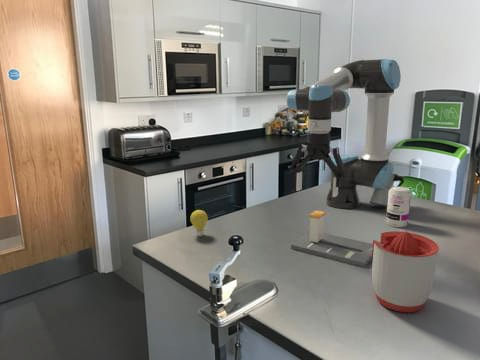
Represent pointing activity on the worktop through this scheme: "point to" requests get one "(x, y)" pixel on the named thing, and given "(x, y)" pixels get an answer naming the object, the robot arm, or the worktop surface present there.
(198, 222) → the light bulb
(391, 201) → the supplement can
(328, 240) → the fader panel
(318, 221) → the fader knob
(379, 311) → the worktop surface
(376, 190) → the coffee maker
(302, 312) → the worktop surface
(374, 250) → the citrus juicer
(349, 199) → the robot arm
